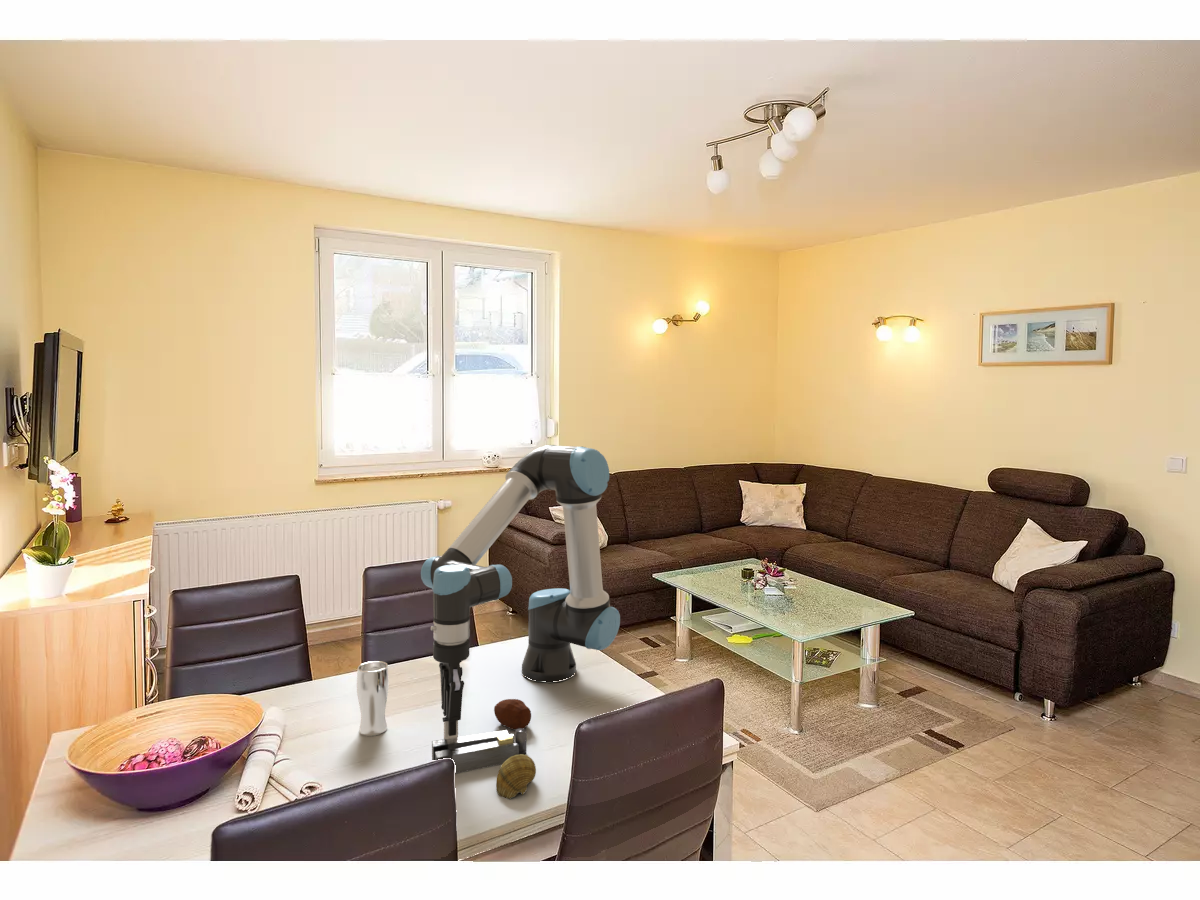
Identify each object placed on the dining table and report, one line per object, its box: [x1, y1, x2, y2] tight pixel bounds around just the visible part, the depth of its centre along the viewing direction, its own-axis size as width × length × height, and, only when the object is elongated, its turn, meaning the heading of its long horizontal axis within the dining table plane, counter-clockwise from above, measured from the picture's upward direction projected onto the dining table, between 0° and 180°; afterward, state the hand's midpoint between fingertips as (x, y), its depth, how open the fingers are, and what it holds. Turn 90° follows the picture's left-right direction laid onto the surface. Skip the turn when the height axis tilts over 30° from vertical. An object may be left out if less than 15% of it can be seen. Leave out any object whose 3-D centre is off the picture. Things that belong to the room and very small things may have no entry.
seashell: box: [495, 754, 537, 800], centre depth 141 cm, size 10×7×8 cm
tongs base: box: [435, 728, 528, 774], centre depth 150 cm, size 20×4×5 cm, turn 114°
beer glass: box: [356, 660, 390, 737], centre depth 163 cm, size 7×7×15 cm
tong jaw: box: [431, 729, 515, 760], centre depth 152 cm, size 17×2×4 cm, turn 110°
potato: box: [493, 698, 532, 731], centre depth 167 cm, size 7×9×6 cm
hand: (450, 747), depth 153 cm, fingers closed
